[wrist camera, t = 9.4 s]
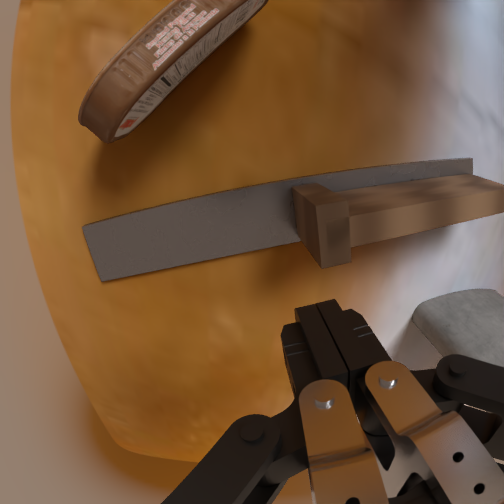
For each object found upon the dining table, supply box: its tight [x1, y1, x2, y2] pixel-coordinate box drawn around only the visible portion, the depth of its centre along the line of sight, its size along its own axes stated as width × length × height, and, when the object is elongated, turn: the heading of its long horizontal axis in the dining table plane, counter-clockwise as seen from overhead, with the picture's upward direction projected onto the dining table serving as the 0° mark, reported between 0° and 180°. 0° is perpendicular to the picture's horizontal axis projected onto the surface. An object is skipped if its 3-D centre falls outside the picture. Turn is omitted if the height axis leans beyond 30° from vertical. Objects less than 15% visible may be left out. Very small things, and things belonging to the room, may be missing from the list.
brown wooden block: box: [291, 174, 504, 269], centre depth 21 cm, size 18×4×6 cm, turn 100°
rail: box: [82, 158, 473, 282], centre depth 24 cm, size 36×5×1 cm, turn 100°
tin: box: [78, 0, 268, 143], centre depth 15 cm, size 15×3×8 cm, turn 135°
